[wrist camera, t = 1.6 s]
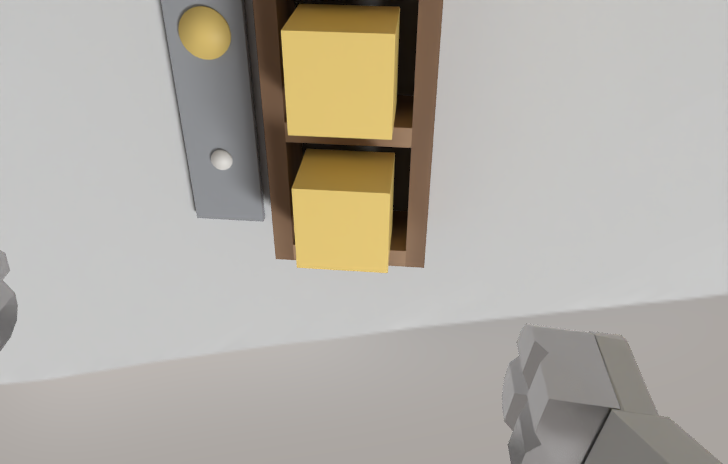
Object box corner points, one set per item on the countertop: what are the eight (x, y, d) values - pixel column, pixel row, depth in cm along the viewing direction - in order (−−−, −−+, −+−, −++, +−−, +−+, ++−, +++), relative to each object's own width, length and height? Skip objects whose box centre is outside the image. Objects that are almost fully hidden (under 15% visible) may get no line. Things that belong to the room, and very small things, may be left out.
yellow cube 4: (394, 152, 31) (390, 193, 28) (392, 227, 34) (387, 273, 30) (306, 148, 32) (291, 188, 28) (310, 222, 34) (296, 267, 31)
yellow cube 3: (399, 6, 27) (395, 34, 24) (396, 103, 30) (391, 139, 26) (299, 3, 28) (281, 30, 24) (304, 99, 30) (288, 135, 27)
